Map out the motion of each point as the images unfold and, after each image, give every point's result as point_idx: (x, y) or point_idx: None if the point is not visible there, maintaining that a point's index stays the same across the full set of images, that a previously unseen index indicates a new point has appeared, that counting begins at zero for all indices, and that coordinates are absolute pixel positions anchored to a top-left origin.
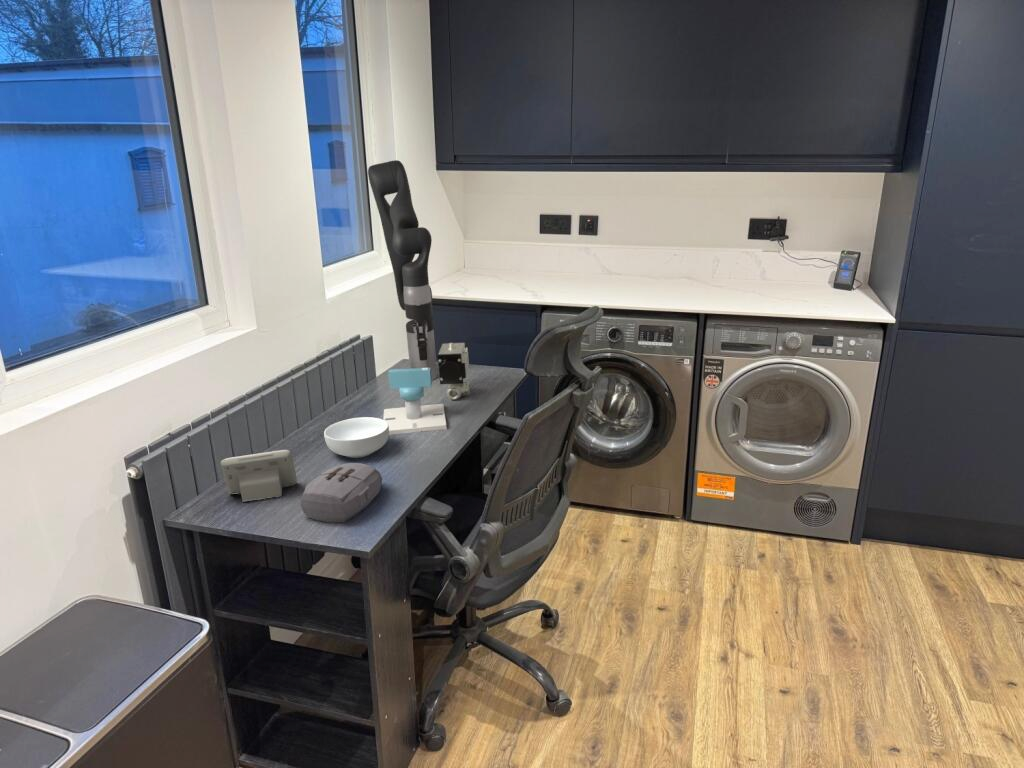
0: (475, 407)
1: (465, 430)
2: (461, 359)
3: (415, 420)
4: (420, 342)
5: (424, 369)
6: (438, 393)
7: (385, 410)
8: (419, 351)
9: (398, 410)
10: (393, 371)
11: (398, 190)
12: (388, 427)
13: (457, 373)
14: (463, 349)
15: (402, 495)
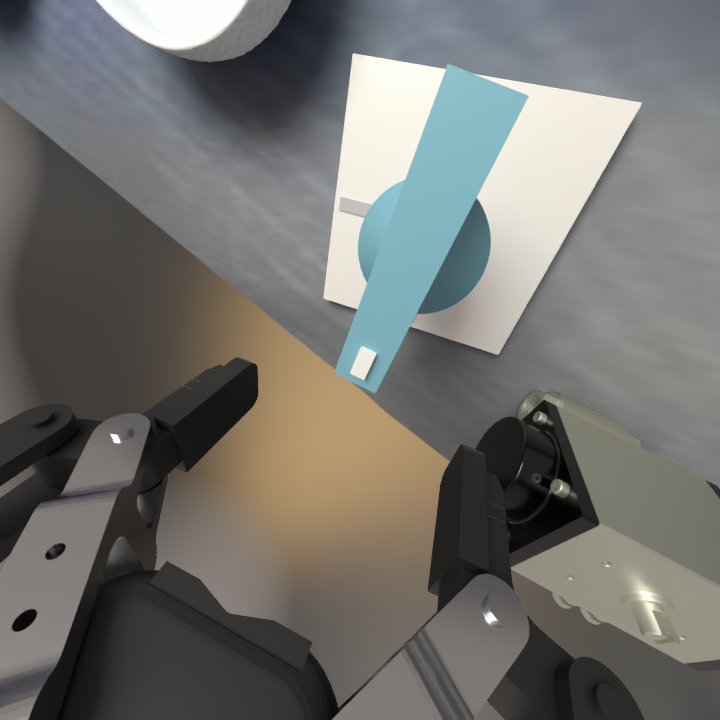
0: (436, 409)
1: (305, 329)
2: None
3: None
4: (450, 534)
5: (356, 357)
6: (655, 390)
7: (612, 108)
8: (183, 399)
9: (555, 181)
10: (435, 133)
11: None
12: (166, 51)
13: None
14: (577, 604)
15: (6, 74)
